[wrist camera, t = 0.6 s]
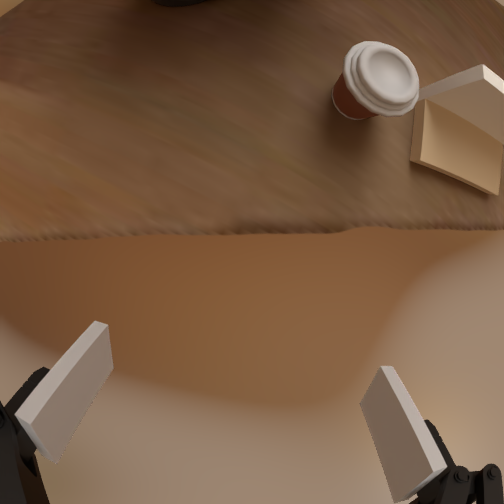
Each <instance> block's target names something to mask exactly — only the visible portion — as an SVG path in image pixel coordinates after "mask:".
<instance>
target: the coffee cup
mask: <svg viewBox="0 0 504 504" xmlns="http://www.w3.org/2000/svg"><path fill="white" fill-rule="evenodd" d="M331 97H332V100H333V104H334V106H335V107H336V108H337V110H338V111H339V112H340V113H341V114H342V115H344V116H345V117H347V118H350V119H353V120H362V119H365V118H369V117H373V116H378V115H381V116H384V117H398V116H402V115H404V114H406V113H407V112H409V111H410V110H412V109H413V108H414V106H415V104H416V102H417V100H418V98H419V78H418V75H417V72H416V69H415V67H414V65H413V64H412V63H411V61H410V60H409V58H408V57H407V56H406V55H404V54H403V53H402V52H401V51H399V50H398V49H397V48H394V47H392V46H390V45H387V44H383V43H380V42H369V41H364V42H362V43H359V44H357V45H355V46H353V47H352V48H351V49H350V50H349V52H348V53H347V55H346V56H345V57H344V60H343V69H342V74H341V75H340V77H339V79H338V80H337V82H336V84H335V85H334V87H333V88H332V95H331Z"/></svg>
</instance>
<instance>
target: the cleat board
mask: <svg viewBox="0 0 504 504" xmlns="http://www.w3.org/2000/svg"><path fill="white" fill-rule="evenodd" d="M503 144H504V81H503V80H502V79H501V78H500V77H499V76H497V75H496V74H495V73H494V72H492V71H491V70H490V69H488V68H487V67H486V66H485V65H483V64H481V65H478V66H475V67H473V68H470V69H467V70H465V71H462V72H460V73H457V74H455V75H452V76H450V77H447V78H445V79H442V80H440V81H437V82H435V83H433V84H430V85H428V86H426V87H423V88H421V89H419V98H418V100H417V102H416V104H415V110H414V124H413V135H412V145H411V153H410V161H412V162H415V163H418V164H420V165H423V166H426V167H428V168H431V169H433V170H436V171H438V172H441V173H443V174H446V175H448V176H450V177H453V178H455V179H457V180H460V181H462V182H464V183H466V184H468V185H470V186H473V187H475V188H477V189H479V190H481V191H483V192H485V193H487V194H492V195H497V196H498V193H499V185H500V177H501V166H502V149H503Z"/></svg>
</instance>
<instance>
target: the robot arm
mask: <svg viewBox="0 0 504 504" xmlns="http://www.w3.org/2000/svg"><path fill="white" fill-rule="evenodd" d="M152 1H154V2H155V3H158V4H160V5H165V6H186V5H192V4H196V3H200V2H203V1H206V0H152ZM113 368H114V366H113V360H112V353H111V345H110V338H109V328H108V325H107V324H104V323H100V322H97V321H94V322H93V323H92V324H91V325H90V326H89V328H87V330H86V331H85V332H84V333H83V334H82V335H81V336H80V337H79V338H78V339H77V341H76V342H75V343H74V344H73V345H72V346H71V347H70V348H69V349H68V350H67V352H66V353H65V354H64V355H63V356H62V357H61V359H60V360H59V361H58V362H57V363H56V364H55V365H54V366H53V368H52V369H51V370H49V369H47V368H45V367H42V368H40V369H39V370H37V371H35V372H34V373H33V374H32V375H31V376H30V377H29V378H28V381H26V382H25V383H24V384H23V387H21V388H20V389H19V390H18V391H17V392H16V393H15V395H14V396H13V397H12V399H11V400H10V401H9V402H8V403H7V404H6V406H5V407H3V405H2V403H1V401H0V504H50V503H49V500H48V497H47V494H46V491H45V488H44V485H43V482H42V478H41V475H40V471H39V467H38V464H37V460H36V456H35V454H34V452H35V450H36V449H38V450H39V452H40V453H41V455H42V456H44V457H45V458H47V459H49V460H51V461H52V462H54V463H56V464H57V463H58V461H59V460H60V458H61V456H62V454H63V452H64V450H65V448H66V446H67V445H68V443H69V441H70V440H71V438H72V436H73V434H74V432H75V431H76V429H77V427H78V426H79V424H80V422H81V420H82V419H83V417H84V415H85V414H86V412H87V410H88V408H89V407H90V405H91V404H92V402H93V400H94V399H95V397H96V395H97V394H98V392H99V390H100V389H101V387H102V386H103V384H104V382H105V381H106V379H107V378H108V376H109V375H110V373H111V371H112V370H113ZM360 406H361V408H362V411H363V414H364V416H365V419H366V422H367V425H368V427H369V430H370V433H371V436H372V438H373V441H374V444H375V447H376V450H377V453H378V455H379V458H380V461H381V464H382V467H383V470H384V473H385V476H386V479H387V482H388V485H389V489H390V492H391V495H392V498H393V501H394V503H397V502H400V501H404V500H407V499H409V498H410V497H412V496H413V495H414V494H416V493H417V496H418V498H416V499H415V500H413V501H412V502H410V503H409V504H472V503H473V502H475V501H476V504H504V500H503V486H502V476H501V471H500V469H499V468H498V466H496V465H495V464H488V465H486V466H485V467H484V468H483V469H482V470H481V471H473V472H469V471H468V470H467V468H465V467H463V466H456V465H455V463H454V461H453V459H452V458H451V456H450V454H449V452H448V450H447V448H446V446H445V444H444V443H443V442H442V438H441V437H440V436H439V433H438V431H437V429H436V427H435V426H434V425H433V424H432V423H431V422H430V421H429V420H423V418H422V417H421V415H420V413H419V411H418V409H417V407H416V406H415V404H414V402H413V400H412V398H411V397H410V395H409V393H408V392H407V390H406V388H405V387H404V385H403V383H402V381H401V379H400V378H399V376H398V375H397V373H396V371H395V369H394V368H393V366H380V368H379V370H378V371H377V373H376V375H375V377H374V379H373V381H372V383H371V385H370V386H369V388H368V390H367V392H366V394H365V395H364V397H363V399H362V400H361V402H360Z"/></svg>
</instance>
